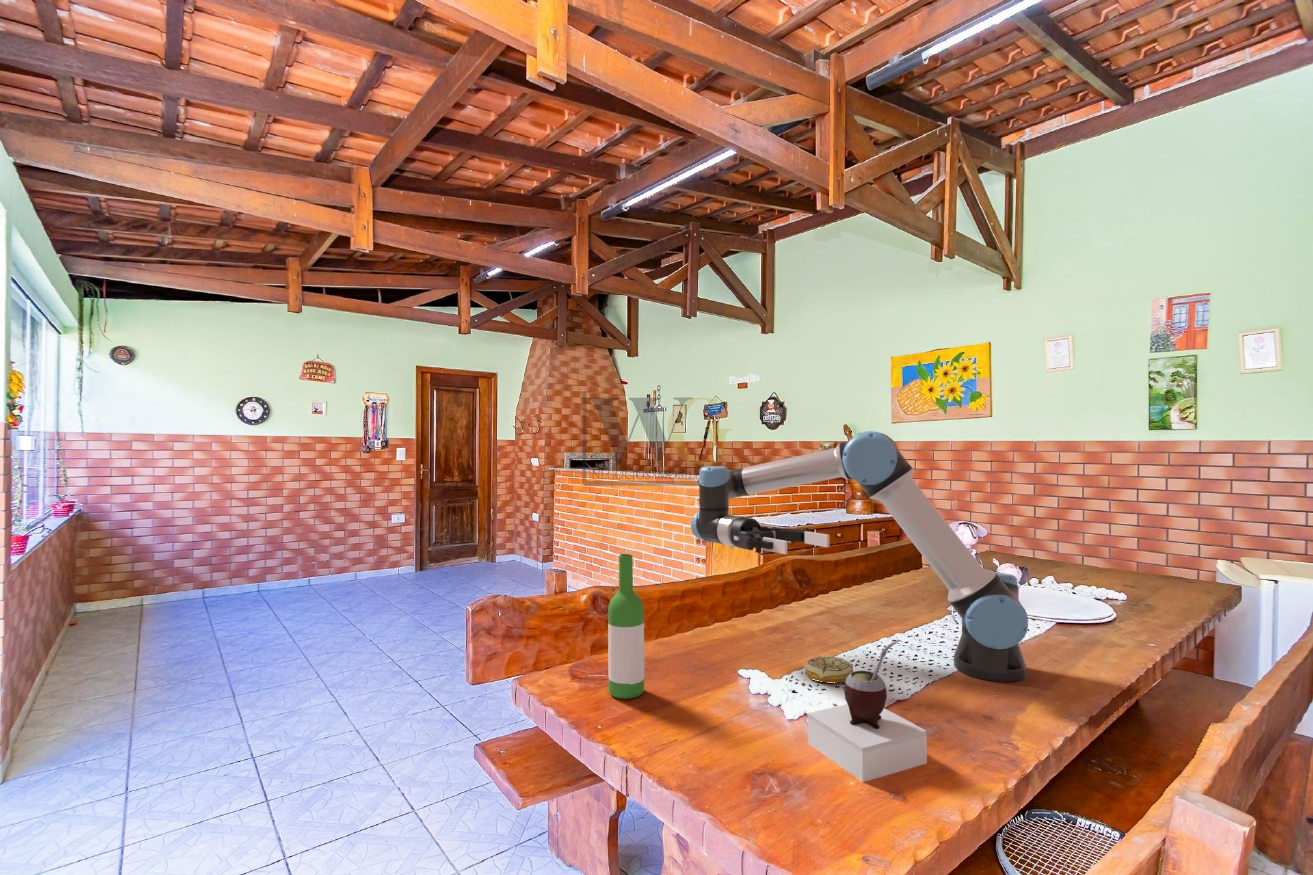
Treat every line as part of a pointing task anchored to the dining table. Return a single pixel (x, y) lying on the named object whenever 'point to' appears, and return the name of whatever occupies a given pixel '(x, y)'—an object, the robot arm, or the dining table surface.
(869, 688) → the mate gourd
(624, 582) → the wine bottle
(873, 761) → the storage box
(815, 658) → the decorated donut
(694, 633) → the dining table surface
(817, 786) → the dining table surface
